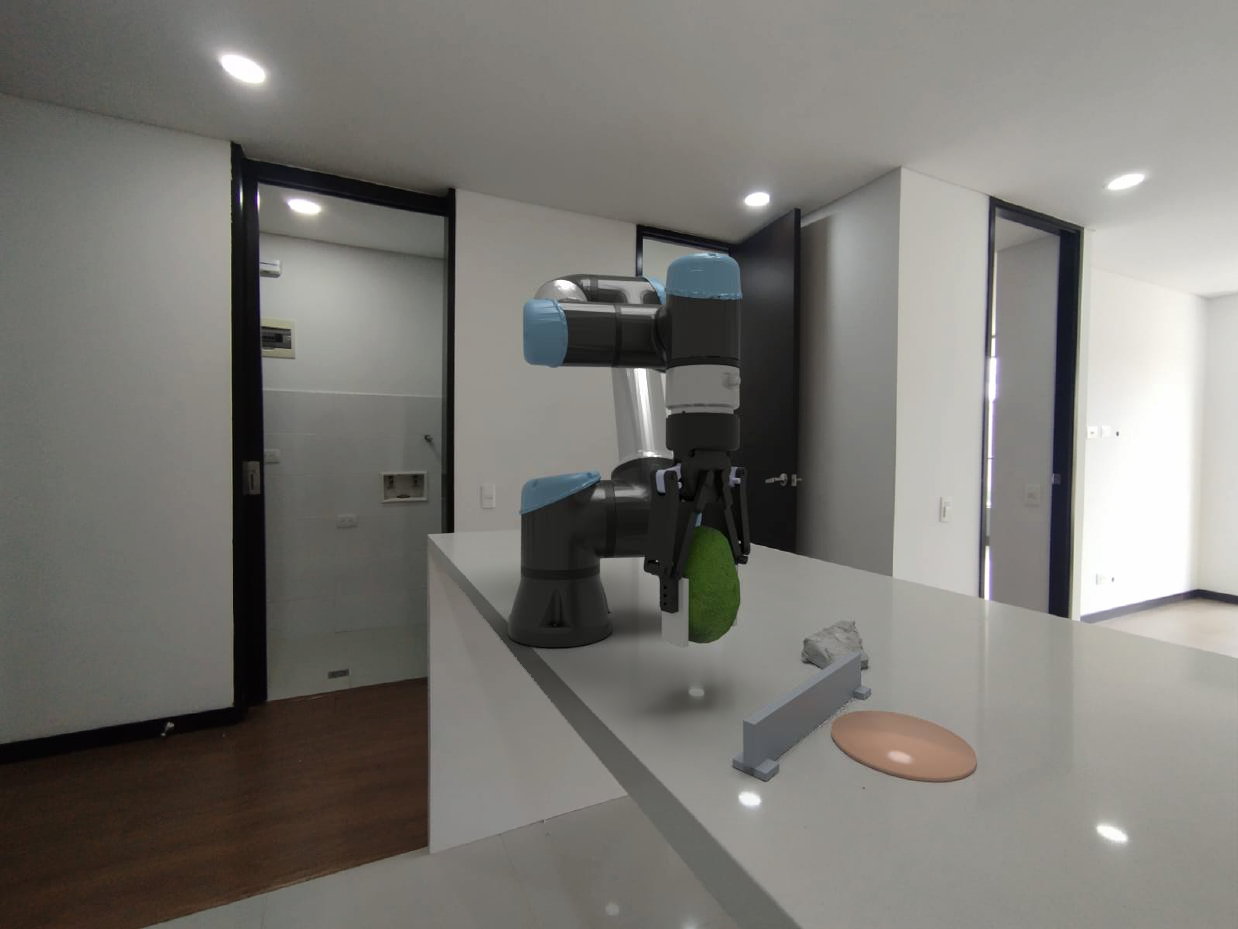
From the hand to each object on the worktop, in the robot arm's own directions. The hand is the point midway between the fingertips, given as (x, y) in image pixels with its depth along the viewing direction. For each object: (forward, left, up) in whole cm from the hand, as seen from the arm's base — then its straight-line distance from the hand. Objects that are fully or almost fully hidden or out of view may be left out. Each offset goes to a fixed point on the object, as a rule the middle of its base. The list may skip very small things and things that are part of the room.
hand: (701, 632), depth 55 cm
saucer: (+18, +5, -7) cm, 19 cm away
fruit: (0, 0, -1) cm, 1 cm away
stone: (+6, +21, -7) cm, 23 cm away
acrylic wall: (+11, +3, -7) cm, 13 cm away
